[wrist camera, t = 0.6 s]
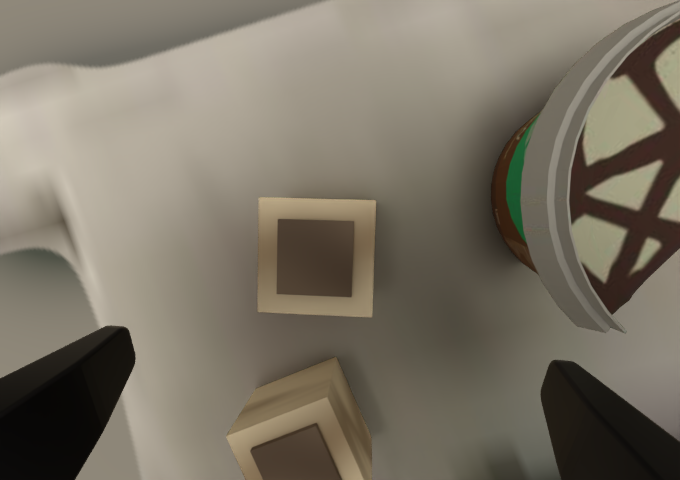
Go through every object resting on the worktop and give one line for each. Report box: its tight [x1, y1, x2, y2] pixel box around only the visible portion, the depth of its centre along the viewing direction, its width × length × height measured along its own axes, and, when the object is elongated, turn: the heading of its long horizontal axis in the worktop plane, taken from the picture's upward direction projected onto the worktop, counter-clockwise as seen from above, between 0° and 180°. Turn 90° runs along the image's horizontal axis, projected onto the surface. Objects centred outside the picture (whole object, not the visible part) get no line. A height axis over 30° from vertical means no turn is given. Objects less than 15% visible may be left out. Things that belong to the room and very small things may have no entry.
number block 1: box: [257, 197, 376, 317], centre depth 20 cm, size 5×5×5 cm
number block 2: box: [226, 357, 372, 480], centre depth 21 cm, size 5×5×5 cm
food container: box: [491, 0, 680, 333], centre depth 16 cm, size 12×6×10 cm, turn 138°
